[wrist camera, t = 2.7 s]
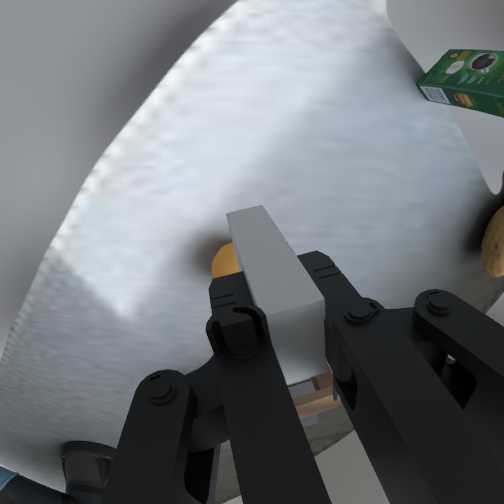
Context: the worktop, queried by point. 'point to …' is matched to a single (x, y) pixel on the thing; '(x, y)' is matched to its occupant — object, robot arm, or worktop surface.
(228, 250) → the ball
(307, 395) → the bridge
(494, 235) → the potato
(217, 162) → the worktop surface
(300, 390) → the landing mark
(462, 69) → the coffee box
